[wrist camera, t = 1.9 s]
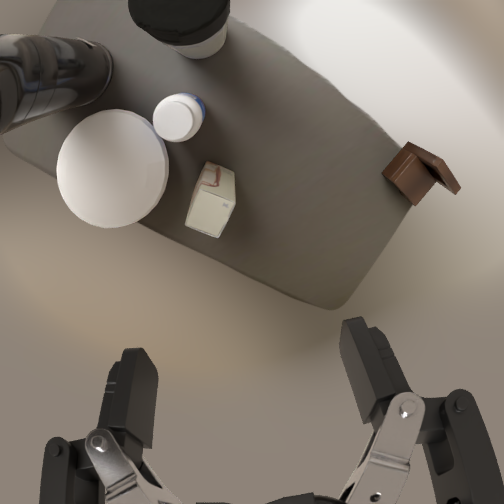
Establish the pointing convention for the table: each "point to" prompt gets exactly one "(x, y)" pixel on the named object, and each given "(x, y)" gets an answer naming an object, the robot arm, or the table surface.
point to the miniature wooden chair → (419, 173)
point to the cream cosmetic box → (212, 200)
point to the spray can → (184, 24)
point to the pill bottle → (178, 117)
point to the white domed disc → (112, 168)
